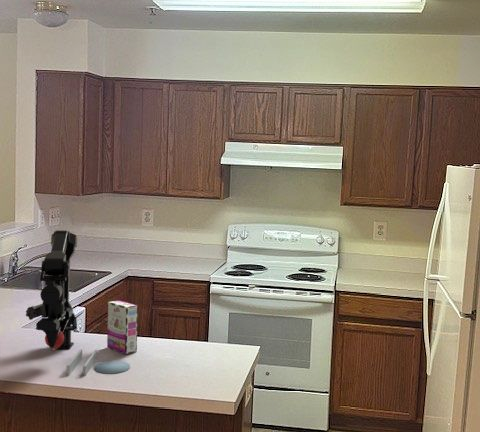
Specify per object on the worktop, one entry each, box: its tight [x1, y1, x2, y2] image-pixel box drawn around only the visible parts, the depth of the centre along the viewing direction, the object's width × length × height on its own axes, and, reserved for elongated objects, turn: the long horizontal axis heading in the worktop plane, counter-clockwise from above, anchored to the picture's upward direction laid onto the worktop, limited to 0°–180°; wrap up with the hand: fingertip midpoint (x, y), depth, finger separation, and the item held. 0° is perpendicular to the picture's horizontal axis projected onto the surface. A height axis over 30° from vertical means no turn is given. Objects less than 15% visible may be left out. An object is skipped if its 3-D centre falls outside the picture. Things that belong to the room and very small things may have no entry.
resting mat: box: [94, 360, 131, 375], centre depth 210 cm, size 11×11×1 cm
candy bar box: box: [106, 299, 139, 355], centre depth 228 cm, size 11×5×16 cm, turn 47°
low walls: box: [66, 349, 98, 376], centre depth 210 cm, size 16×6×3 cm, turn 0°
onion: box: [44, 330, 64, 351], centre depth 209 cm, size 6×6×8 cm
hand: (54, 344), depth 209 cm, fingers closed on onion, 6 cm apart
